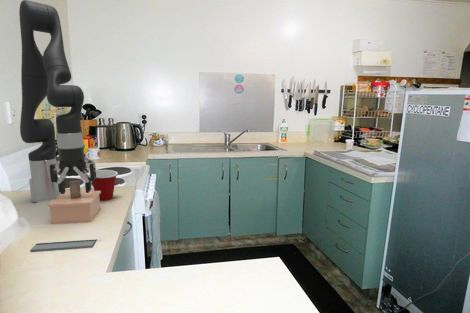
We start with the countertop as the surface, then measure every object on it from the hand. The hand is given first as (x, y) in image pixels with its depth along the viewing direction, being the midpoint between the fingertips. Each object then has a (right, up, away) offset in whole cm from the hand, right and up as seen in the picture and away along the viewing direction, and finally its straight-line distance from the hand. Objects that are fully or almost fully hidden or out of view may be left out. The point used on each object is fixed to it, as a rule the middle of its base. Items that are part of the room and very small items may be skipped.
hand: (75, 192), depth 104 cm
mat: (+6, -12, -13) cm, 19 cm away
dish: (0, -9, +2) cm, 9 cm away
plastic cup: (+2, -6, +20) cm, 21 cm away
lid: (0, -2, +1) cm, 2 cm away
